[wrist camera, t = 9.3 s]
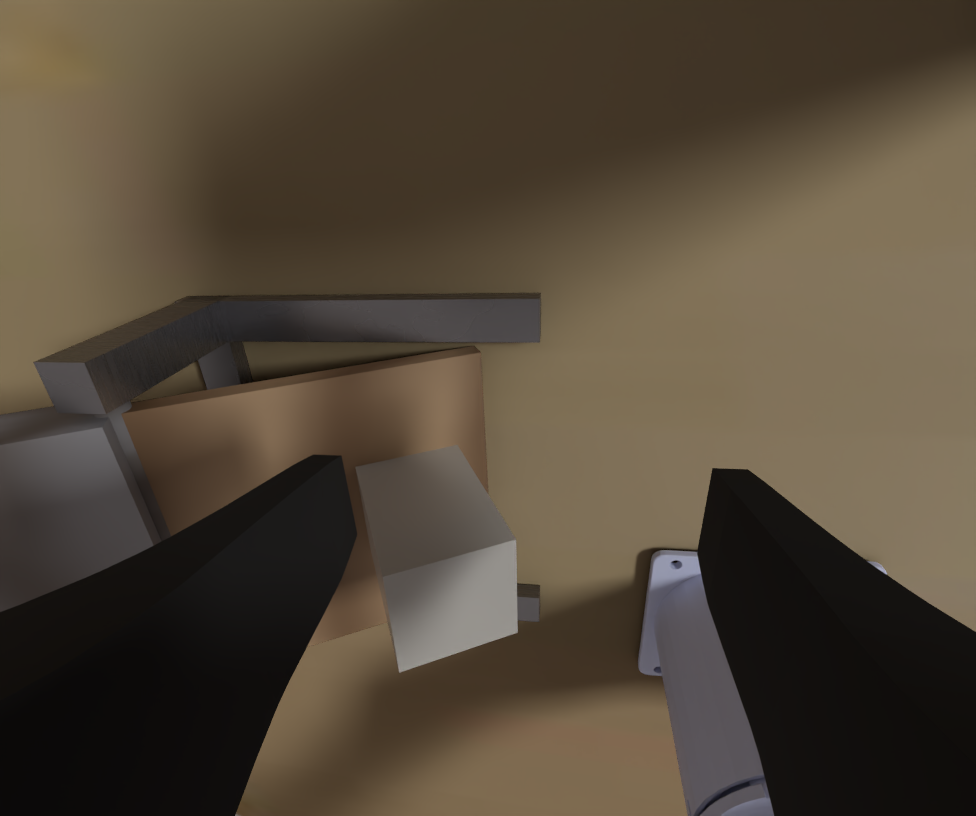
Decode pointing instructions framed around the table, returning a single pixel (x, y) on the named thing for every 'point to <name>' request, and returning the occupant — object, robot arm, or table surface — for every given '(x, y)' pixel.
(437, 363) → the trapdoor
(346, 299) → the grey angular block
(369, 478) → the light grey block
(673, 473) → the table surface
